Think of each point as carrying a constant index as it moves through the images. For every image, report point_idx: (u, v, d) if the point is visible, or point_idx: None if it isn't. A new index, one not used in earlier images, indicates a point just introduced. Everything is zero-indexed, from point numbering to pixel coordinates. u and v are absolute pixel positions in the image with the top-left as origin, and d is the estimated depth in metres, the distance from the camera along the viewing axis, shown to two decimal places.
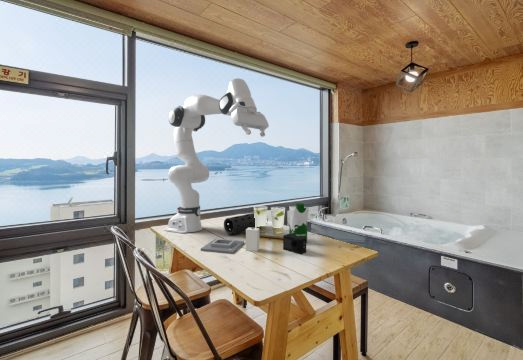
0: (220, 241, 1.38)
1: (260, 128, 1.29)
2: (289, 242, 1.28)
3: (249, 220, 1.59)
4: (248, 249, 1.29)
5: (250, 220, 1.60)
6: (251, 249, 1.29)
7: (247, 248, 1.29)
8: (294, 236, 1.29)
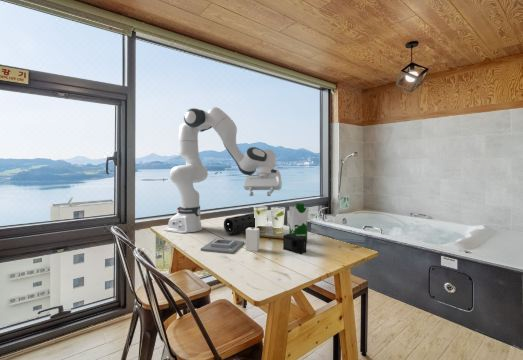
0: (220, 241, 1.38)
1: (251, 188, 1.44)
2: (289, 242, 1.28)
3: (249, 220, 1.59)
4: (248, 249, 1.29)
5: (250, 220, 1.60)
6: (251, 249, 1.29)
7: (247, 248, 1.29)
8: (294, 236, 1.29)
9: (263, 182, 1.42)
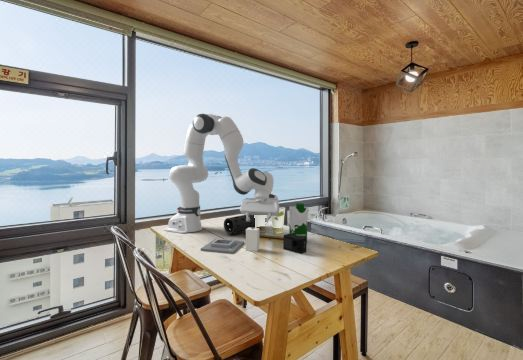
0: (220, 241, 1.38)
1: (248, 213, 1.40)
2: (289, 242, 1.29)
3: None
4: (248, 249, 1.29)
5: (250, 220, 1.60)
6: (251, 249, 1.29)
7: (247, 248, 1.29)
8: (294, 236, 1.29)
9: (261, 207, 1.39)
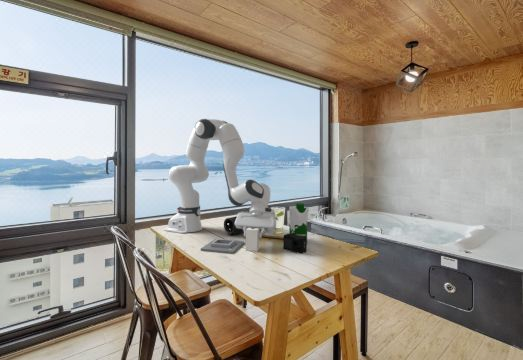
0: (220, 241, 1.38)
1: (246, 227, 1.33)
2: (289, 242, 1.29)
3: None
4: (248, 249, 1.29)
5: None
6: (251, 249, 1.29)
7: (247, 248, 1.29)
8: (294, 236, 1.30)
9: (257, 222, 1.32)
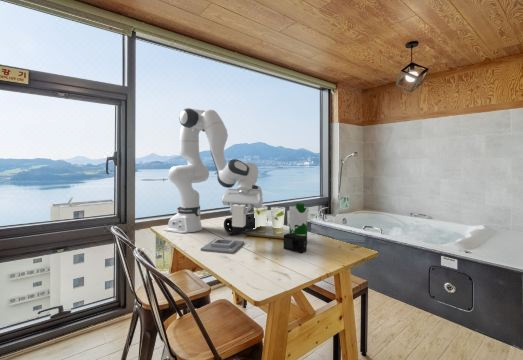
0: (220, 241, 1.38)
1: (233, 204, 1.34)
2: (290, 241, 1.29)
3: (249, 220, 1.59)
4: (234, 225, 1.30)
5: (250, 220, 1.60)
6: (237, 225, 1.30)
7: (233, 224, 1.31)
8: (294, 235, 1.30)
9: (243, 199, 1.33)
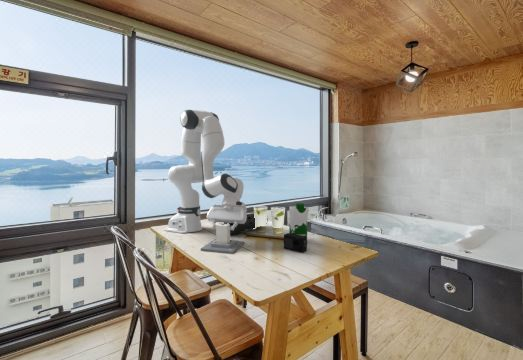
0: None
1: (215, 220, 1.37)
2: (290, 241, 1.29)
3: (249, 220, 1.59)
4: None
5: (250, 220, 1.60)
6: None
7: None
8: (295, 235, 1.30)
9: (227, 215, 1.36)
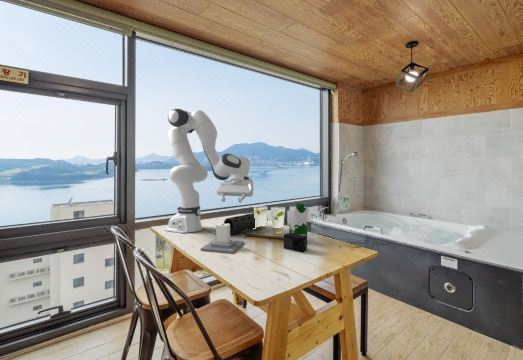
0: None
1: (224, 194, 1.48)
2: (290, 241, 1.30)
3: (249, 220, 1.59)
4: None
5: (250, 220, 1.60)
6: None
7: None
8: (295, 235, 1.31)
9: (236, 188, 1.46)
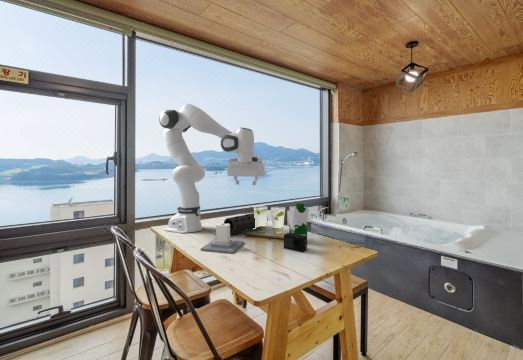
0: None
1: (236, 176, 1.48)
2: (290, 241, 1.30)
3: (249, 220, 1.59)
4: None
5: (250, 220, 1.60)
6: None
7: None
8: (295, 235, 1.31)
9: (247, 171, 1.44)
